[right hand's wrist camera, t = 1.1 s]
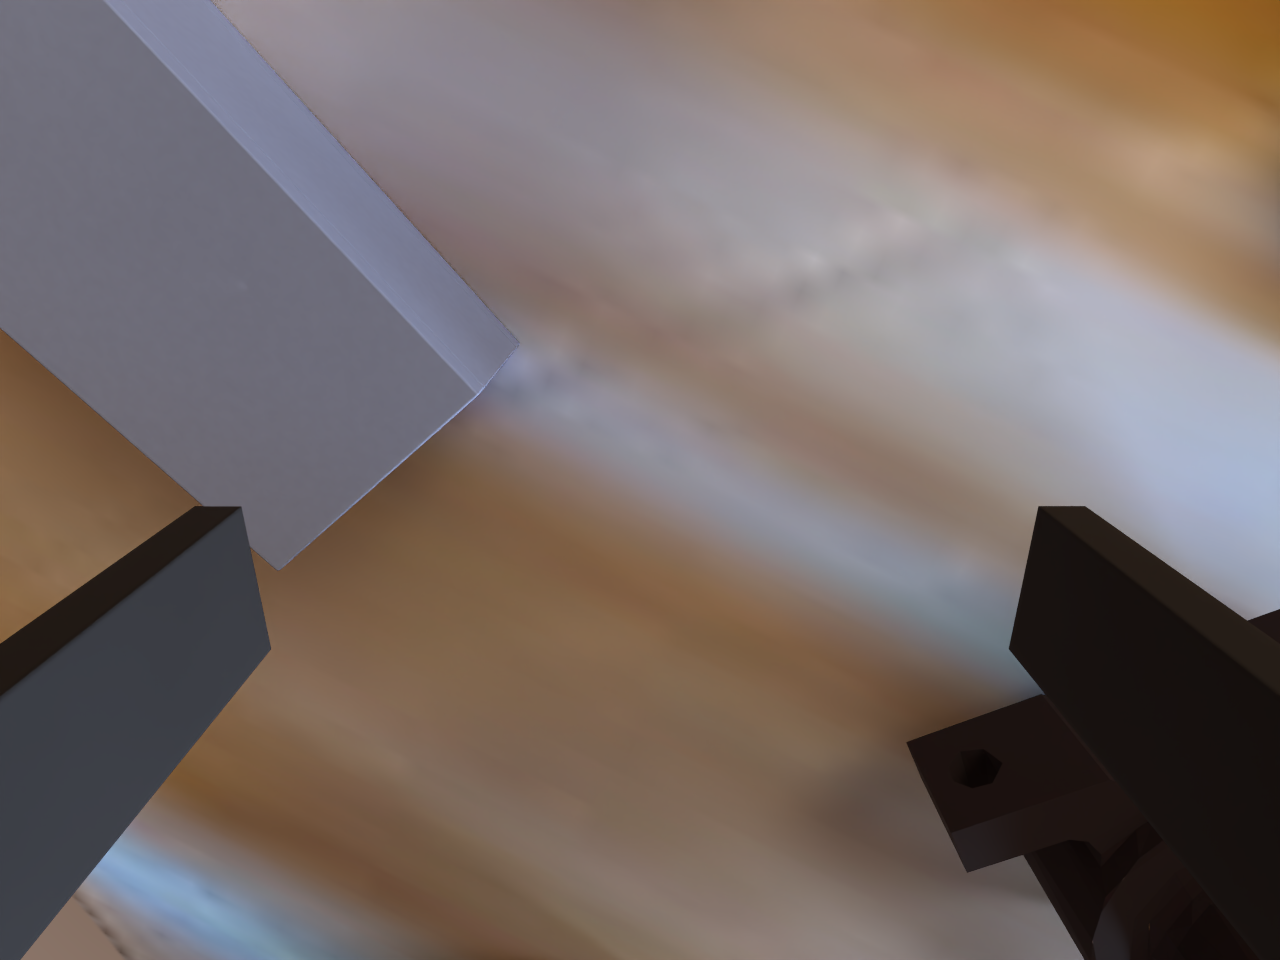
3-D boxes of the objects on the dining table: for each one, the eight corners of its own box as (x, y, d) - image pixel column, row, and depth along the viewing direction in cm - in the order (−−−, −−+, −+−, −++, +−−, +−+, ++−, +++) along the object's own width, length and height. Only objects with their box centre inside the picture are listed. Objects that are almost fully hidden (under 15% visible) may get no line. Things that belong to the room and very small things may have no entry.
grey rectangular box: (19, 151, 32) (-223, 134, 23) (174, -40, 29) (-28, -142, 20) (364, 481, 37) (277, 572, 28) (520, 343, 35) (479, 395, 26)
